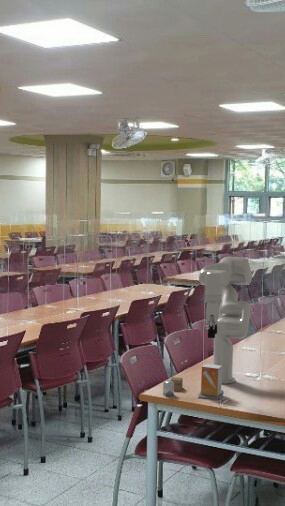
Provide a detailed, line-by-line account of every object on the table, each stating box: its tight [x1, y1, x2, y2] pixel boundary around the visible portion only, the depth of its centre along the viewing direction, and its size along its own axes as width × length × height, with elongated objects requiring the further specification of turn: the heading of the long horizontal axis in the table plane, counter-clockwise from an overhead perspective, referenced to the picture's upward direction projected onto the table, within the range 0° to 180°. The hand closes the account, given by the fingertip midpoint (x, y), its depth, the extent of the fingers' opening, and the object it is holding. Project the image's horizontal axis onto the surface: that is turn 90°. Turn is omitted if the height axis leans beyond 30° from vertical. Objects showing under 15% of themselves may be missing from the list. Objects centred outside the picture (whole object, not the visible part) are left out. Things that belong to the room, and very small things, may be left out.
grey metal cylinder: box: [162, 379, 175, 397], centre depth 298 cm, size 5×5×6 cm
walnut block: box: [170, 376, 183, 391], centre depth 308 cm, size 5×5×5 cm
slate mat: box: [197, 389, 224, 401], centre depth 299 cm, size 14×10×1 cm
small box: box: [200, 363, 222, 396], centre depth 298 cm, size 8×6×13 cm
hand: (212, 335), depth 297 cm, fingers open, 9 cm apart
